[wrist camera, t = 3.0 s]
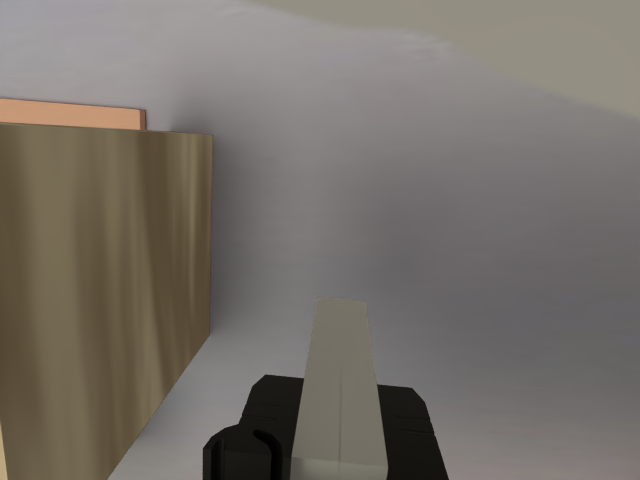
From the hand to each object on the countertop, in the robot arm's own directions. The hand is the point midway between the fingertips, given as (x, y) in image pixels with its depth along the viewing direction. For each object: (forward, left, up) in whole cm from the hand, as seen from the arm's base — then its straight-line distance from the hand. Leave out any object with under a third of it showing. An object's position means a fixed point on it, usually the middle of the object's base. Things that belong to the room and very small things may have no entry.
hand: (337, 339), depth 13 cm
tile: (+9, 0, -11) cm, 14 cm away
